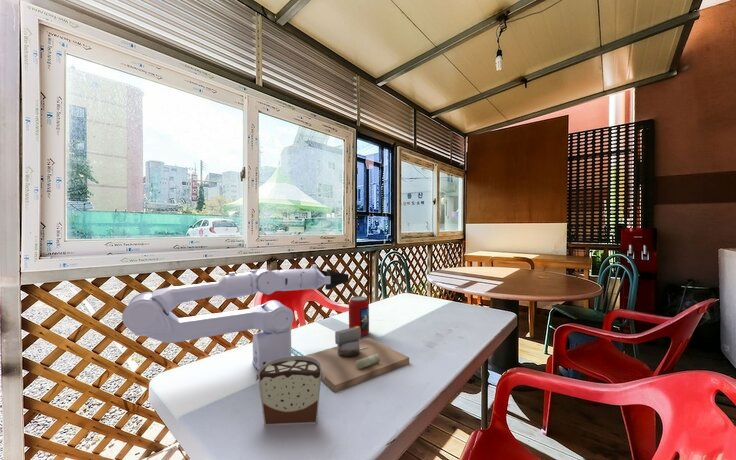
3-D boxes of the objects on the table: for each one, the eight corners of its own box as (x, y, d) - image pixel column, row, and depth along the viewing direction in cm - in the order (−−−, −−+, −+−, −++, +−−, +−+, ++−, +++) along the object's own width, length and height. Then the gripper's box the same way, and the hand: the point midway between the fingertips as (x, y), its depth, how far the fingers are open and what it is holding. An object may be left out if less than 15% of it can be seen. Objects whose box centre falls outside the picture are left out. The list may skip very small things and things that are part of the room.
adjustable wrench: (272, 342, 89) (288, 338, 93) (273, 346, 89) (288, 341, 93) (293, 357, 79) (310, 351, 82) (293, 360, 79) (310, 355, 82)
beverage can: (369, 337, 94) (368, 300, 94) (348, 337, 94) (347, 300, 94) (369, 330, 101) (368, 295, 101) (349, 330, 101) (349, 295, 101)
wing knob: (343, 359, 74) (342, 335, 74) (331, 351, 79) (331, 329, 79) (365, 352, 78) (365, 329, 78) (353, 345, 83) (352, 323, 83)
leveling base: (335, 392, 62) (334, 375, 62) (301, 362, 77) (301, 349, 77) (409, 363, 75) (409, 349, 75) (368, 342, 90) (368, 331, 90)
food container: (328, 403, 59) (327, 353, 59) (325, 423, 52) (324, 367, 52) (266, 405, 58) (265, 355, 58) (255, 426, 52) (255, 370, 52)
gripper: (308, 265, 75) (353, 264, 82) (290, 263, 87) (331, 262, 95) (308, 293, 74) (353, 289, 82) (289, 287, 87) (330, 284, 94)
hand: (341, 277), depth 88 cm, fingers open, 7 cm apart
